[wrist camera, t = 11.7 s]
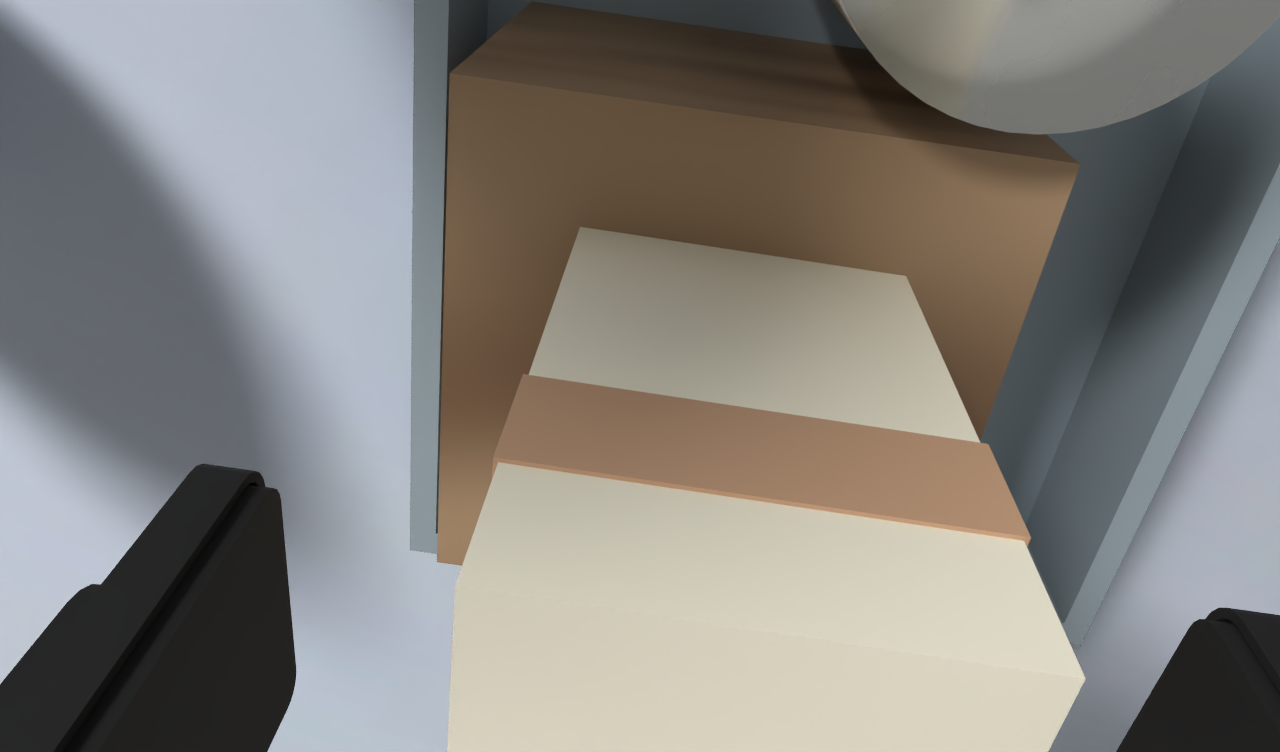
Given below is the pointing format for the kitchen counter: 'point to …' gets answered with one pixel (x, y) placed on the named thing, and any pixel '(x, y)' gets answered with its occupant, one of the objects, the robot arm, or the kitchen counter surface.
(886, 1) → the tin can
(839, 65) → the walnut block
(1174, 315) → the grey shallow tray
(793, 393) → the oat carton
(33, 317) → the kitchen counter surface
